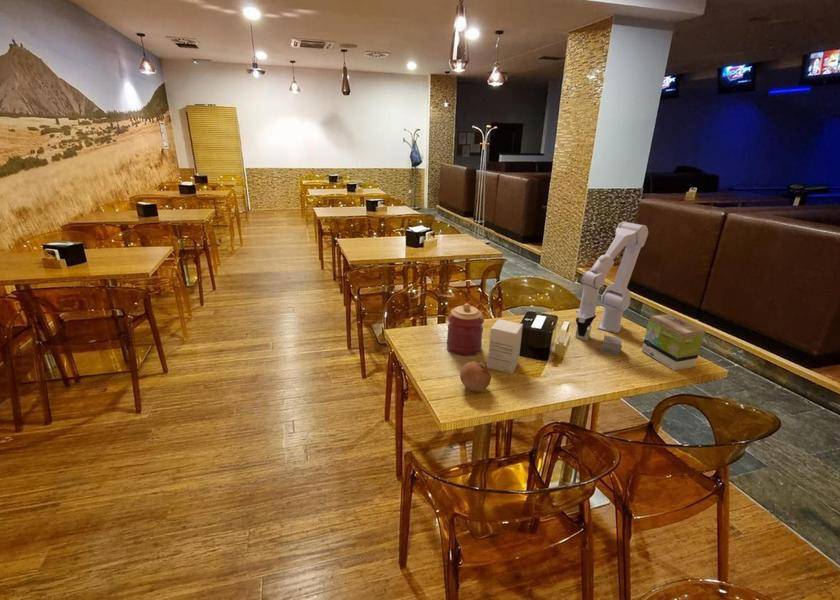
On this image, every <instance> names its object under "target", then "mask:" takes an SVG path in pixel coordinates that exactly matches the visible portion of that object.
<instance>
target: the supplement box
mask: <svg viewBox="0 0 840 600" xmlns="http://www.w3.org/2000/svg"><path fill="white" fill-rule="evenodd" d="M523 328H524V324H523V323H519V322H514V321H509V320H505V319H501V318H499V319H498V318H497V320H496V322H495V323H494V324H493V325H492V326H491V328H490V332H489V333H490V334H489V346H488V353H487V354H488V355H487V356H488V357H487V365H486V366H487V368H488V369H492V370H495V371H499V372H503V373H507V374H513V373H514V371H515V370H516V368H517V366H518V364H519V361H520V352H521V344H522V336H523V335H522V334H523Z"/></svg>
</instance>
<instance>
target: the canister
mask: <svg viewBox="0 0 840 600" xmlns="http://www.w3.org/2000/svg"><path fill="white" fill-rule="evenodd" d="M447 320H448V323H447V336H446V337H447V338H446V348H447V350H448V351H449V352H451V353H453V354H455V355H457V356H459V355H460V356H474V355H476V354H479V353H480V351H481V349H482V346H483V342H482V339H483V332H484V327H483V324H484V321H485V319H484V317H483V313H482V310H479V309H478V308H477V307H475V306H473V305H471V304H469V303H464V304H463V305H458V306H456V307H454V308H452V309H451V310H450V314H449V315H448V317H447Z"/></svg>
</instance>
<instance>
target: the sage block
mask: <svg viewBox="0 0 840 600" xmlns="http://www.w3.org/2000/svg"><path fill="white" fill-rule="evenodd" d="M591 332H592V325H590V326H588V328H587V331H586V333H585V335H584V337H583V336H579V335H578V326H577V327H576V330H575V335H574V336H575V337H574V338H577V339H581V340H584V341H588V340H589V338H590V336H591Z"/></svg>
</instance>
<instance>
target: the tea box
mask: <svg viewBox="0 0 840 600" xmlns="http://www.w3.org/2000/svg"><path fill="white" fill-rule="evenodd" d="M706 331H707V330H706V329H704V328H702V327H699V326H698V325H695V324H693V323H690V322H689V321H686V320H684V319H682V318H680V317H679V316H676V315H674V314H671V313H666V314H659V315H651V316H649V319H648V322H647V327H646V331H645V334H644V338H643V343H642V348H641V352H643V353H645V354H646V355H648V356H650V357H651V358H653V359H655V360H656V361H658V362H659V363H661V364H662V365H664V366H666V367H668V369H671V370H672V371H680V370H684V369H690V368H695V367H696V364H697V360H698V357H699V354H700V350H701V347H702V345H703V341H704V338H705V336H706V335H705V334H706Z"/></svg>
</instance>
